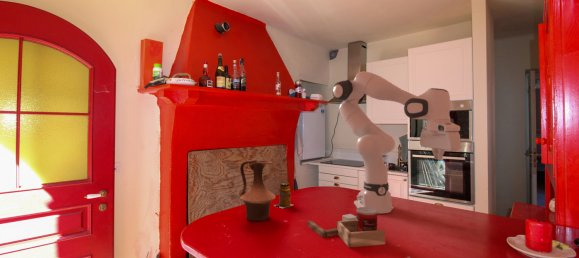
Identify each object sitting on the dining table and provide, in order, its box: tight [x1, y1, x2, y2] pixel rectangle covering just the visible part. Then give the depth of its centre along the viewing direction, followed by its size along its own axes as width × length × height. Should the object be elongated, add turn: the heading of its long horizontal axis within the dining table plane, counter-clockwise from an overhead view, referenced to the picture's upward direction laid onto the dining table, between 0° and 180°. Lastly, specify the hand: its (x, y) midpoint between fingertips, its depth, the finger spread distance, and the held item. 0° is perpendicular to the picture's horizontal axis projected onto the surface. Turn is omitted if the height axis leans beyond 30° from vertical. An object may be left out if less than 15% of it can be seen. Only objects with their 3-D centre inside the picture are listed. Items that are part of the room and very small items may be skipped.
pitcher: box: [238, 159, 276, 222], centre depth 133 cm, size 18×17×28 cm
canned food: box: [355, 207, 378, 232], centre depth 108 cm, size 8×8×11 cm
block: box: [341, 213, 356, 221], centre depth 121 cm, size 4×4×4 cm
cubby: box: [336, 220, 386, 248], centre depth 108 cm, size 13×14×5 cm
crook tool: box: [306, 220, 339, 238], centre depth 117 cm, size 14×7×2 cm, turn 22°
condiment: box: [273, 182, 294, 209], centre depth 152 cm, size 7×8×12 cm
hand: (438, 159), depth 117 cm, fingers closed
